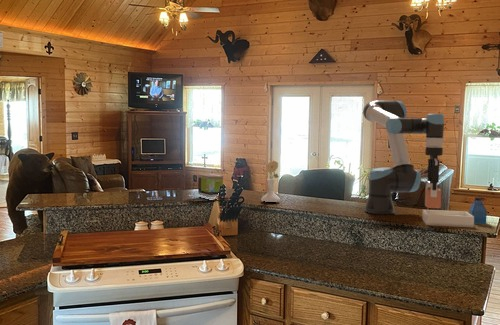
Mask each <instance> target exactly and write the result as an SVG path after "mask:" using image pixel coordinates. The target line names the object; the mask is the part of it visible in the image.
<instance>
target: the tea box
mask: <svg viewBox="0 0 500 325" xmlns="http://www.w3.org/2000/svg"><path fill="white" fill-rule="evenodd" d="M197 178H198V179H197V180H198V182H197V184H198V186H197V187H198V188H197V192H198V193H197V194H200V195H203V196H206V197H215V196H217V195H218V193H219V187H220V186H222V185H223V186H224V176H223V175H221V174H213V173H200V174H198V177H197Z"/></svg>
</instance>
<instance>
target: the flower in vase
mask: <svg viewBox="0 0 500 325" xmlns="http://www.w3.org/2000/svg"><path fill="white" fill-rule="evenodd" d="M278 167H279V163H278V162H277V161H276V160H271V161H268V163H267V165H266V166H265V170H266V172H267V175H268V176H269V177H271V178H267V179H266V181H267V182H268V190H267V193H266V194H264V195H263V196H262V197H261V198H260V200H261V202H263V201H265V202H264V203H266V202H276V203H279V202H280V201H281V198H280V197H279V196H278V195H277V194H276V193H275V192H274V189H273V187H274V182H275V181H276V178H279V175H278V173H275V172H276V171H277V170H278ZM272 173H273V175H271V174H272ZM278 201H279V202H278Z"/></svg>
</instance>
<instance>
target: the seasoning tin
mask: <svg viewBox="0 0 500 325" xmlns="http://www.w3.org/2000/svg"><path fill="white" fill-rule="evenodd" d="M424 191H425V192H424V206H425V207H426V208H430V209H441V208H442V207H441V206H442V189H440V188H438V187H437V197H430V193H431V190H428V189H427V188H426V187H425V188H424Z"/></svg>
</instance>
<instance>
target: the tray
mask: <svg viewBox="0 0 500 325" xmlns="http://www.w3.org/2000/svg"><path fill="white" fill-rule="evenodd" d="M422 221H423V222H424V224H425V225H426V226H432V227H454V228H474V224H475V223H474V216H472V215H471V214H470V213H469V211H467V210H466V211H464V210H463V211H462V210H440V209H439V210H438V209H422Z"/></svg>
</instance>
